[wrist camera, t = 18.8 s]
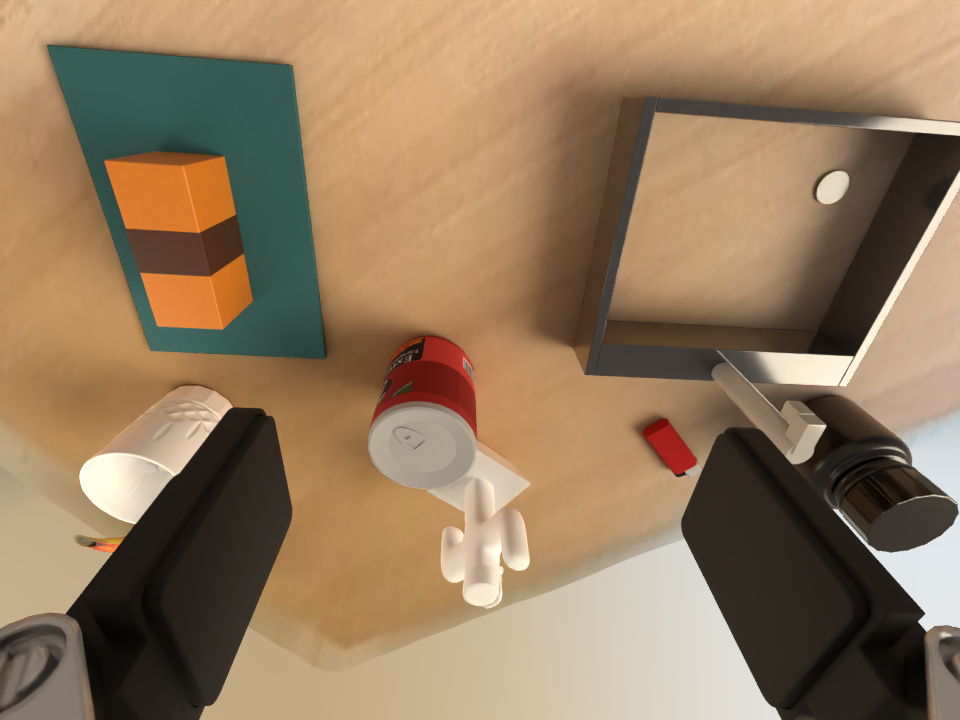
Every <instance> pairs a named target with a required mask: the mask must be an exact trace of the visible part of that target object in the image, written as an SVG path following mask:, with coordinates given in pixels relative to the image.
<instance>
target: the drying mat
mask: <svg viewBox="0 0 960 720" xmlns="http://www.w3.org/2000/svg"><path fill="white" fill-rule="evenodd" d="M47 47H48V50H49V53H50V56H51V59H52V62H53V65H54V68H55V71H56V74H57V77H58V80H59V82H60V85H61V88H62V91H63V94H64V97H65V100H66V103H67V106H68V109H69V112H70V115H71V118H72V121H73V124H74V127H75V129H76V132H77V135H78V138H79V141H80V144H81V147H82V150H83V153H84V156H85V159H86V162H87V165H88V168H89V171H90V174H91V176H92V179H93V182H94V185H95V188H96V191H97V194H98V197H99V200H100V203H101V206H102V209H103V212H104V215H105V218H106V221H107V224H108V226H109V229H110V232H111V235H112V238H113V241H114V244H115V247H116V250H117V253H118V256H119V259H120V262H121V265H122V268H123V271H124V273H125V276H126V279H127V282H128V285H129V288H130V291H131V294H132V297H133V300H134V303H135V306H136V309H137V312H138V315H139V318H140V320H141V323H142V326H143V329H144V332H145V335H146V338H147V341H148V344H149V347H150V350H151V351H165V352H187V353H209V354H230V355H252V356H273V357H295V358H317V359H325V358H326V356H327V355H326V347H325V338H324V330H323V321H322V313H321V304H320V296H319V287H318V279H317V270H316V262H315V253H314V245H313V236H312V228H311V219H310V210H309V202H308V193H307V185H306V176H305V168H304V159H303V151H302V142H301V134H300V125H299V117H298V108H297V100H296V91H295V83H294V74H293V66H292V65H282V64H270V63H258V62H246V61H234V60H222V59H210V58H197V57H185V56H173V55H161V54H149V53H137V52H125V51H112V50H100V49H88V48H76V47H64V46H52V45H47ZM156 151H163V152H177V153H191V154H205V155H220V156H224V157H225V161H226V166H227V171H228V176H229V181H230V186H231V191H232V196H233V202H234V207H235V212H236V214H237V218H238V223H239V228H240V233H241V238H242V244H243V249H244V257H245V262H246V267H247V272H248V277H249V282H250V288H251V293H252V298H253V301H252V302H251V303H250V304H249V305H248V306H247V307H246V308H245V309H244V310H243V311H242V312H241V313H240V314H239V315H238V316H236V317H235V318H234V319H233V320H232V321H231V322H230V323H229V324H228V325H227V326H226V327H225V328H224V329H202V328H181V327H161V326H157V324H156V321H155V317H154V314H153V311H152V308H151V305H150V302H149V299H148V296H147V293H146V290H145V286H144V283H143V280H142V277H141V274H140V273H139V271H138V268H137V264H136V261H135V258H134V255H133V252H132V249H131V246H130V243H129V240H128V237H127V233H126V230H125V228H126V227H125V224H124V221H123V218H122V215H121V212H120V209H119V206H118V203H117V200H116V196H115V193H114V190H113V187H112V184H111V181H110V178H109V175H108V172H107V168H106V165H105V162H104V161H105V160H108V159H114V158H120V157H126V156H132V155H138V154H144V153H150V152H156Z"/></svg>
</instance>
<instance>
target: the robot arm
mask: <svg viewBox="0 0 960 720" xmlns="http://www.w3.org/2000/svg"><path fill="white" fill-rule="evenodd" d="M291 519H292V505H291V500H290V495H289V490H288V485H287V480H286V475H285V470H284V465H283V460H282V455H281V450H280V445H279V440H278V435H277V430H276V425H275V421H274V418H273V417H272V416H266V413H265V411H264V410H263V409H260V408H235V407H233V408H230V409H229V410H228V411H227V412H226V413H225V415H224V416H223V417H222V419H221V420H220V421H219V423H218V424H217V425H216V426H215V428H214V429H213V430H212V432H211V433H210V434H209V436H208V437H207V438H206V439H205V441H204V442H203V443H202V445H201V446H200V447H199V449H198V450H197V451H196V452H195V454H194V455H193V456H192V458H191V459H190V460H189V462H188V463H187V464H186V465H185V467H184V468H183V469H182V471H181V472H180V473H179V474H177V475H175V476H174V477H173V478H172V479H171V480H170V481H169V482H168V483H167V484H166V486H165V487H164V488H163V490H162V491H161V492H160V493H159V495H158V496H157V497H156V499H155V500H154V501H153V502H152V504H151V505H150V506H149V507H148V509H147V510H146V511H145V513H144V514H143V515H142V516H141V518H140V519H139V520H138V522H137V523H136V524H135V525H134V527H133V528H132V529H131V531H130V532H129V533H128V534H127V536H126V537H125V538H124V540H123V541H122V542H121V543H120V545H119V546H118V547H117V549H116V550H115V551H114V552H113V554H112V555H111V556H110V558H109V559H108V560H107V561H106V563H105V564H104V565H103V566H102V568H101V569H100V570H99V572H98V573H97V574H96V575H95V577H94V578H93V579H92V581H91V582H90V583H89V584H88V586H87V587H86V588H85V590H84V591H83V592H82V594H81V595H80V596H79V597H78V599H77V600H76V601H75V602H74V604H73V605H72V606H71V607H70V609H69V610H68V611H67V613H66V614H59V613H45V614H39V615H33V616H29V617H27V618H24V619H21V620H19V621H16V622H13V623H10V624H8V625H6V626H5V627H3V628H1V629H0V720H199V719H200V716H201V714H202V712H203V709H204V707H205V706H209V705H212V704H213V703H214V702H215V701H216V700H217V698H218V696H219V694H220V692H221V690H222V687H223V685H224V682H225V680H226V678H227V675H228V673H229V671H230V668H231V666H232V663H233V661H234V658H235V656H236V654H237V651H238V649H239V646H240V644H241V641H242V639H243V637H244V634H245V632H246V629H247V627H248V625H249V622H250V620H251V618H252V615H253V613H254V610H255V608H256V606H257V603H258V601H259V598H260V596H261V594H262V591H263V589H264V586H265V584H266V581H267V579H268V577H269V574H270V572H271V569H272V567H273V565H274V562H275V560H276V557H277V555H278V553H279V550H280V548H281V545H282V543H283V541H284V538H285V536H286V533H287V531H288V529H289V526H290V523H291ZM681 528H682V533H683V536H684V538H685V540H686V542H687V544H688V546H689V548H690V550H691V552H692V554H693V556H694V558H695V560H696V562H697V564H698V566H699V568H700V570H701V572H702V574H703V576H704V578H705V580H706V582H707V584H708V586H709V588H710V590H711V592H712V594H713V596H714V598H715V600H716V602H717V604H718V606H719V608H720V610H721V612H722V614H723V616H724V618H725V620H726V622H727V624H728V626H729V629H730V630H731V633H732V634H733V637H734V639H735V641H736V643H737V645H738V647H739V649H740V650H741V653H742V655H743V657H744V659H745V661H746V663H747V665H748V667H749V669H750V671H751V673H752V675H753V677H754V679H755V681H756V683H757V685H758V687H759V689H760V691H761V693H762V695H763V696H764V698H765V700H766V701H767V702H768V703H769V704H770V705H771V706H773V707H775V708H776V709H777V711H778V713H779V715H780V717H781V719H782V720H960V628H957V627H952V626H947V625H945V626H934V627H933V628H932V629H930V630H929V631H928V632H926V631H925V630H924V628H923V627H922V626H921V625H920V624H919V623H918V621H919V619H921V618H922V617H923V616H924V615H925V613H924V611H923V610H922V609H921V608H920V607H919V606H918V605H917V603H916V602H915V601H914V600H913V599H912V598H911V597H910V596H909V595H908V593H907V592H906V591H905V590H904V589H903V588H902V587H901V586H900V584H899V583H898V582H897V581H896V580H895V579H894V578H893V577H892V575H891V574H890V573H889V572H888V571H887V570H886V569H885V568H884V566H883V565H882V564H881V563H880V562H879V561H878V560H877V559H876V558H875V557H874V555H873V554H872V553H871V552H870V551H869V550H868V549H867V547H866V546H865V545H864V544H863V543H862V542H861V541H860V540H859V539H858V537H857V536H856V535H855V534H854V533H853V532H852V531H851V530H850V528H849V527H848V526H847V525H846V524H845V523H844V522H843V521H842V520H841V518H840V517H839V516H838V515H837V514H836V513H835V512H834V510H833V509H832V508H831V507H830V506H829V505H828V504H827V503H826V501H825V500H824V499H823V498H822V497H821V496H820V495H819V494H818V493H817V491H816V490H815V489H814V488H813V487H812V486H811V485H810V484H809V482H808V481H807V480H806V479H805V478H804V477H803V476H802V475H801V473H800V472H799V471H798V470H797V469H796V468H795V467H794V466H793V465H792V463H791V462H790V461H789V460H788V459H787V458H786V457H785V456H784V454H783V453H782V452H781V451H780V450H779V449H778V448H777V447H776V445H775V444H774V443H773V442H772V441H771V440H770V439H769V438H768V436H767V435H766V434H765V433H764V432H763V431H761V430H760V429H757V428H738V427H731V428H728V429H726V430H725V432H724V433H723V434H720V435H718V436H717V438H716V440H715V442H714V445H713V447H712V449H711V452H710V454H709V456H708V459H707V461H706V463H705V466H704V468H703V470H702V473H701V475H700V477H699V480H698V482H697V484H696V487H695V489H694V491H693V494H692V496H691V498H690V501H689V503H688V505H687V508H686V510H685V513H684V515H683V517H682V521H681Z"/></svg>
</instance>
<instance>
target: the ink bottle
mask: <svg viewBox="0 0 960 720" xmlns="http://www.w3.org/2000/svg"><path fill="white" fill-rule="evenodd" d="M803 404H804V405H806V406H807V407H808V408H809V409H810V410H811V411H812V412H813V413H814V414H815V415H816V416H817V417H818V418H819V419H820V420H821V421H823V422H824V423H825V424H826V425H827V426H826V428H825V430H824V431H823V433H822V435H821V437H820V438H819V440H818V442H817V443H816V445H815V447H814V453H813V455H812V456H811V457H810V458H809V459H808V460H807V461H805V462H803V463H800V464H792V465H793V466H794V467H795V468H796V469H797V470H798V471H799V472H800V473H801V475H802V476H803V477H804V478H805V479H806V480H807V481H808V482H809V484H810V485H811V486H812V487H813V488H814V489H815V490H816V491H817V493H818V494H819V495H820V496H821V497H822V498H823V499H824V500H825V501H826V503H827V504H828V505H829V506H830V507H831V508H832V509H838V510H839V512H840V513H841V514H842V515H843V517H844V518H845V519H846V520H847V521H848V523H849V524H850V525H851V526H852V527H853V528H854V529H855V530H856V531H857V533H858V534H859V535H860V536H861V537H862V538H863V539H864V540H865V541H866V542H867V543H868V545H869V546H872V547H873V548H875V549H876V550H878V551H886V552H897V551H904V550H905V551H907V550H910V549H913V548H916V547H918V546H921V545H925V544H927V543H928V542H930V541H932V540H933V539H935V538H937V537H939V536H941V535H942V534H943V533H944V532H945V531H946V530H947V529H948V528H949V527H950V526H952V525H953V524H954V521H955V519H956V517H957V515H958V514H959V511H958V507H957V505H958V504H957V502H956V501H954V500H953V499H952V498H951V497H950V496H948V495H947V494H946V493H945V492H943V491H942V490H941V489H940V488H939V487H937V486H936V485H935V484H934V483H932V482H931V481H930V480H929V479H928V478H926V477H925V476H924V475H922V474H921V473H920V472H919V471H918V470H917V469H916V468H914V467H912V456H911V452H910V450H909V448H908V447H907V445H906V444H905V443H904V442H903V441H902V440H901V439H900V438H899V437H897V436H896V435H895V434H894V433H892V432H891V431H890V430H888V429H887V428H886V427H885V426H883V425H882V424H881V423H879V422H878V421H877V420H876V419H874V418H873V417H872V416H871V415H869V414H868V413H867V412H865V411H864V410H863V409H862V408H860V407H859V406H858V405H856V404H855V403H854V402H852V401H850V400H848V399H846V398H843V397H836V396H831V397H822V398H818V399H814V400H811V401H808V402H806V403H803Z"/></svg>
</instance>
